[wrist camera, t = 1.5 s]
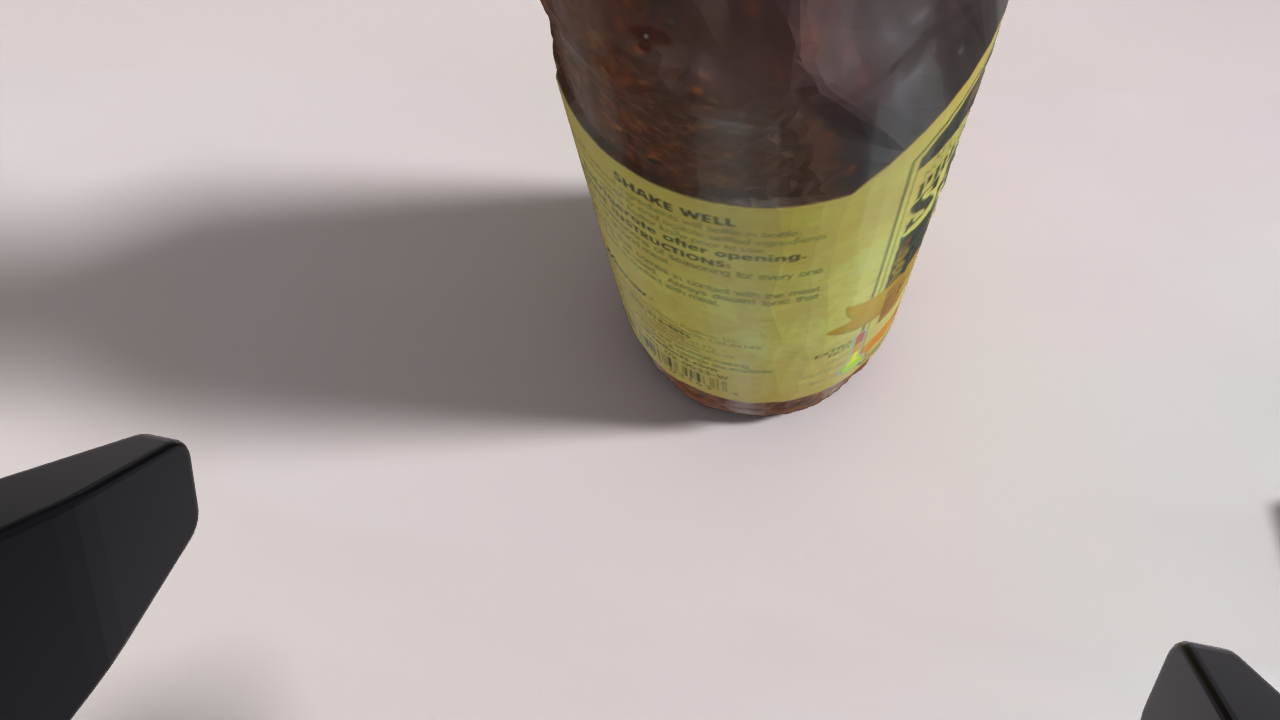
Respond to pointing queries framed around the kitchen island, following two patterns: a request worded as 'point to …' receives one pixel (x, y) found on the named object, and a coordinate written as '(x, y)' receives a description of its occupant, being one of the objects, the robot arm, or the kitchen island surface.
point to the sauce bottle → (766, 173)
